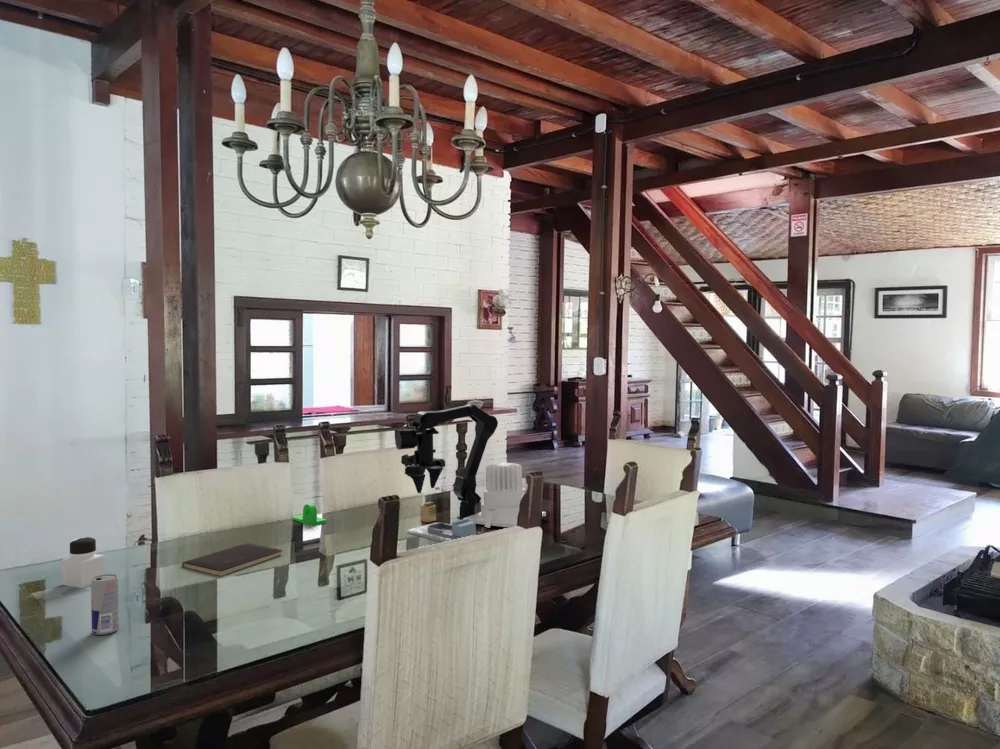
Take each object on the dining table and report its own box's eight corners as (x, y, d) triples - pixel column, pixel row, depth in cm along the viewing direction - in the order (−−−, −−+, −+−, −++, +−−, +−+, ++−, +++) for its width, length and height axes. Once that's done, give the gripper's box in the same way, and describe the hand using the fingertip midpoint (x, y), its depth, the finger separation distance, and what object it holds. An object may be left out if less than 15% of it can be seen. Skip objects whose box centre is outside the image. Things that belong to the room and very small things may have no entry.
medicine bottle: (105, 580, 196) (104, 536, 195) (81, 589, 189) (81, 543, 188) (84, 577, 198) (84, 534, 197) (61, 586, 191) (60, 541, 191)
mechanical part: (326, 525, 257) (326, 502, 257) (312, 528, 253) (311, 505, 252) (307, 519, 265) (306, 498, 265) (292, 522, 261) (292, 500, 260)
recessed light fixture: (513, 532, 247) (511, 470, 246) (460, 526, 258) (459, 467, 258) (548, 518, 268) (546, 460, 267) (498, 512, 279) (496, 457, 279)
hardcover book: (282, 557, 220) (282, 549, 220) (220, 578, 200) (220, 570, 200) (245, 549, 228) (245, 542, 228) (181, 569, 208) (181, 561, 207)
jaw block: (428, 520, 265) (428, 501, 265) (436, 521, 263) (436, 502, 262) (420, 522, 262) (420, 502, 262) (428, 523, 260) (428, 504, 259)
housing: (466, 532, 243) (466, 518, 243) (475, 534, 241) (475, 520, 240) (452, 536, 238) (452, 522, 237) (461, 538, 235) (461, 524, 235)
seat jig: (436, 525, 257) (436, 517, 257) (483, 536, 243) (483, 527, 243) (407, 533, 246) (407, 524, 246) (454, 545, 232) (454, 536, 232)
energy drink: (98, 626, 165) (97, 574, 164) (123, 625, 165) (122, 573, 165) (87, 635, 159) (86, 581, 159) (112, 635, 160) (111, 581, 159)
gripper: (419, 442, 269) (420, 483, 270) (391, 449, 252) (392, 494, 253) (445, 443, 265) (446, 486, 266) (418, 451, 248) (419, 496, 249)
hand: (426, 490), depth 258 cm, fingers open, 9 cm apart
